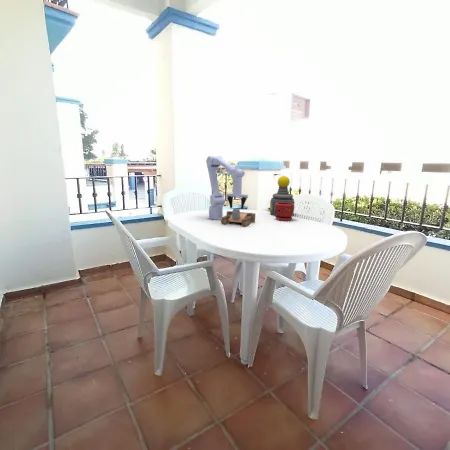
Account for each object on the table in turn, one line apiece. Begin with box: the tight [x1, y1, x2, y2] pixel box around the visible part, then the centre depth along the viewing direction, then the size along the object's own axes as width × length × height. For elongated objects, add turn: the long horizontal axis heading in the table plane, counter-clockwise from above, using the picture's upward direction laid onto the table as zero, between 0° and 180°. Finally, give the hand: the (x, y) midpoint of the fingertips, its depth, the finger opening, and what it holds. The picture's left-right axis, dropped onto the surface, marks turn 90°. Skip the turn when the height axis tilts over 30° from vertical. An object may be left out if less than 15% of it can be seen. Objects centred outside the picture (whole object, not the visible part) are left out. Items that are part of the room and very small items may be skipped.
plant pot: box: [275, 202, 295, 222], centre depth 197 cm, size 13×13×12 cm
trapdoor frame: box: [221, 210, 256, 228], centre depth 185 cm, size 20×16×6 cm
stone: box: [232, 208, 241, 220], centre depth 181 cm, size 4×4×6 cm
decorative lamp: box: [269, 175, 295, 217], centre depth 213 cm, size 19×19×30 cm
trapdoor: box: [228, 213, 247, 224], centre depth 185 cm, size 10×10×1 cm
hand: (236, 208), depth 181 cm, fingers open, 7 cm apart
